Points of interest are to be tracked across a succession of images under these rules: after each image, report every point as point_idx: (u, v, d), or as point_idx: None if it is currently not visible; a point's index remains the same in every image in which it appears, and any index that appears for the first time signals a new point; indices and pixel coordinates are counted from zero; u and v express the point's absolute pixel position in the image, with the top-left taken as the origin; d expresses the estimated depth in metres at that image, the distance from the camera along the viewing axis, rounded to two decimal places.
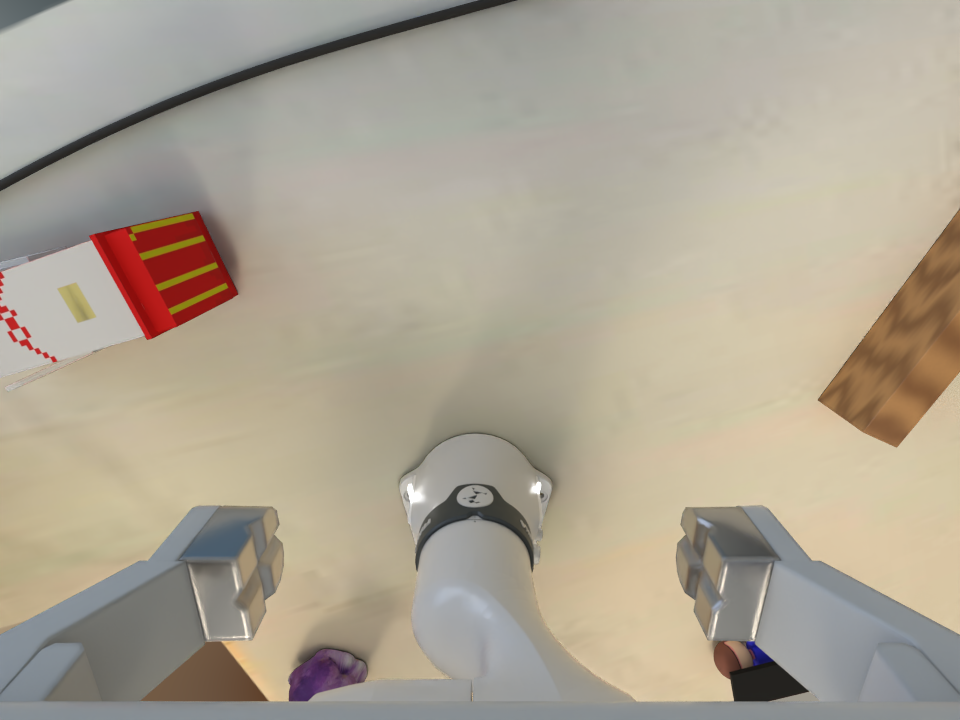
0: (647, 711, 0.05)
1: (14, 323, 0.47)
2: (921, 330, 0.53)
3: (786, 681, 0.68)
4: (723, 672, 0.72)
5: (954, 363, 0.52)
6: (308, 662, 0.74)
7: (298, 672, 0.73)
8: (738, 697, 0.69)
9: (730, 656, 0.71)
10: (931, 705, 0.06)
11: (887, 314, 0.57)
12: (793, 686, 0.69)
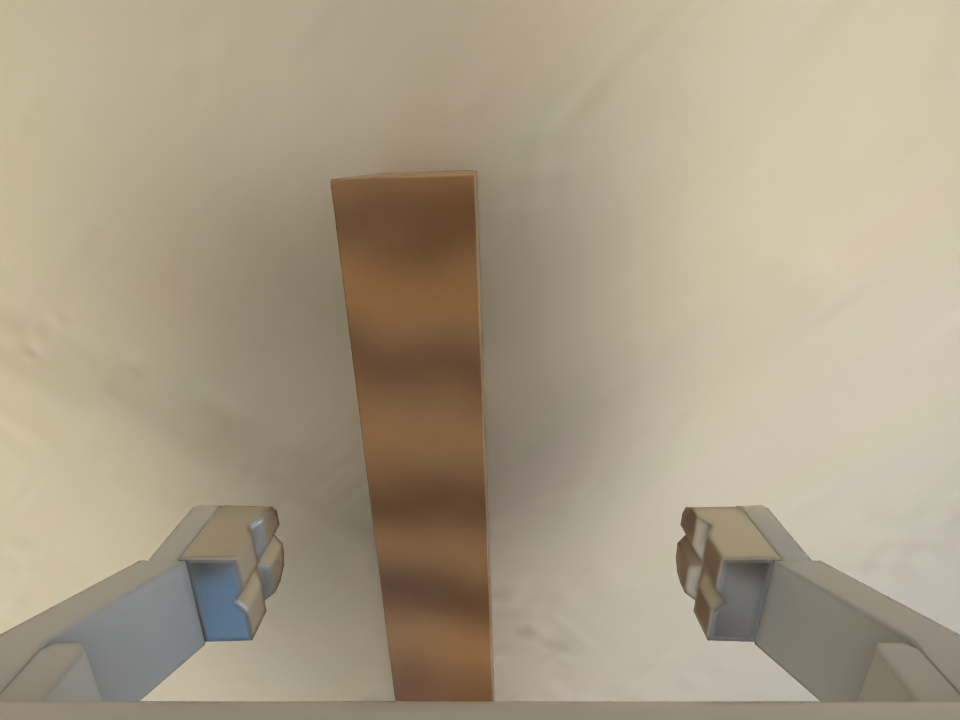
0: (647, 711, 0.05)
1: None
2: None
3: None
4: None
5: (394, 459, 0.20)
6: None
7: None
8: None
9: None
10: (931, 705, 0.06)
11: None
12: None
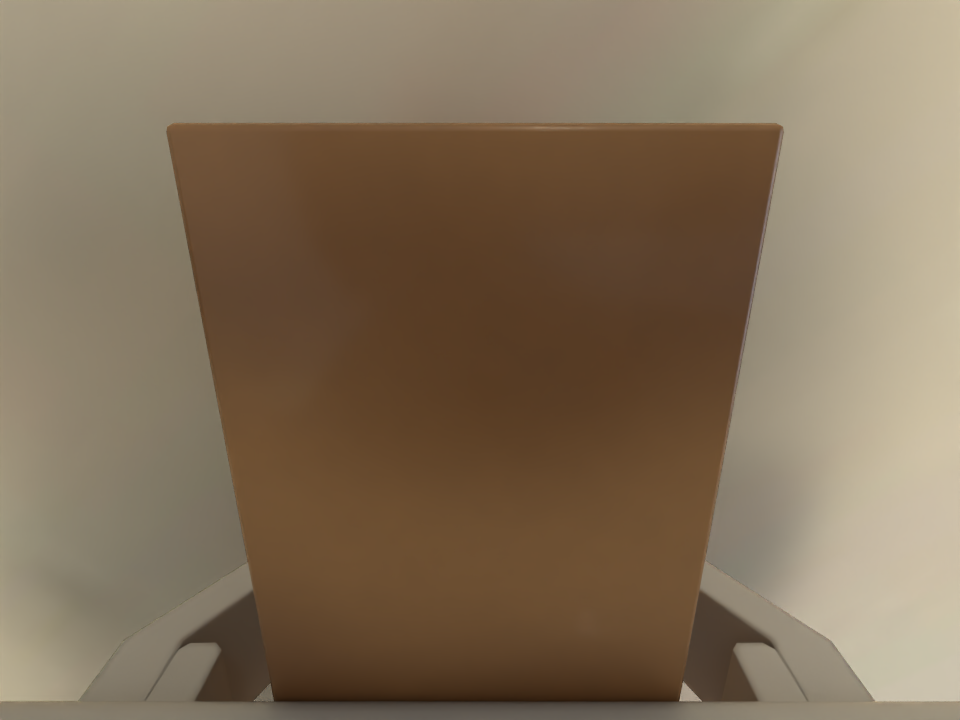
0: (647, 711, 0.05)
1: None
2: None
3: None
4: None
5: None
6: None
7: None
8: None
9: None
10: (931, 705, 0.06)
11: None
12: None
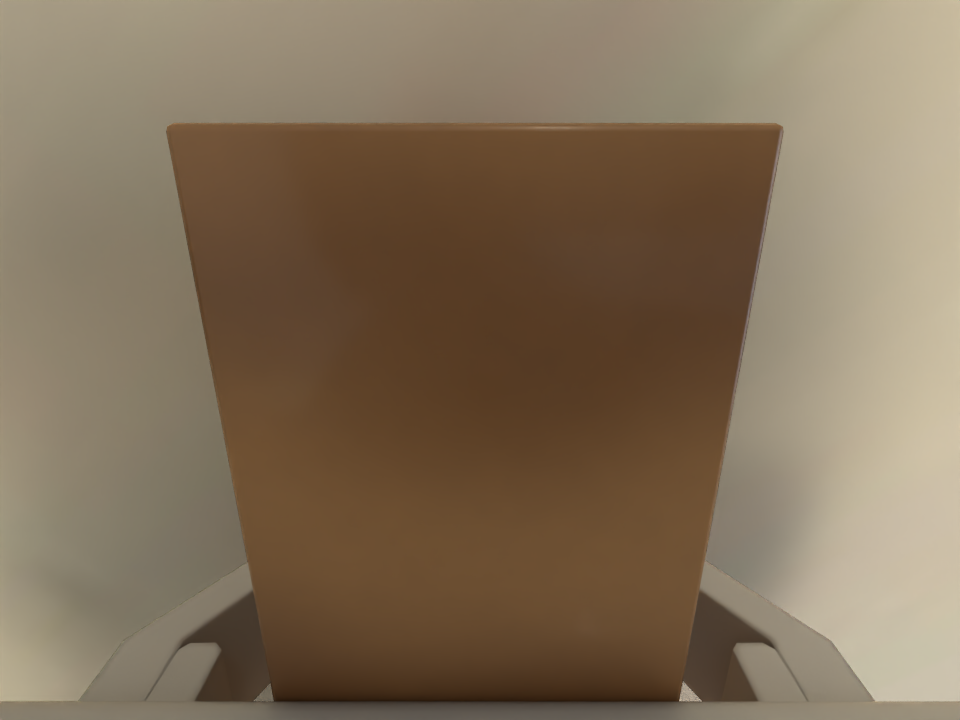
0: (647, 711, 0.05)
1: None
2: None
3: None
4: None
5: None
6: None
7: None
8: None
9: None
10: (931, 705, 0.06)
11: None
12: None
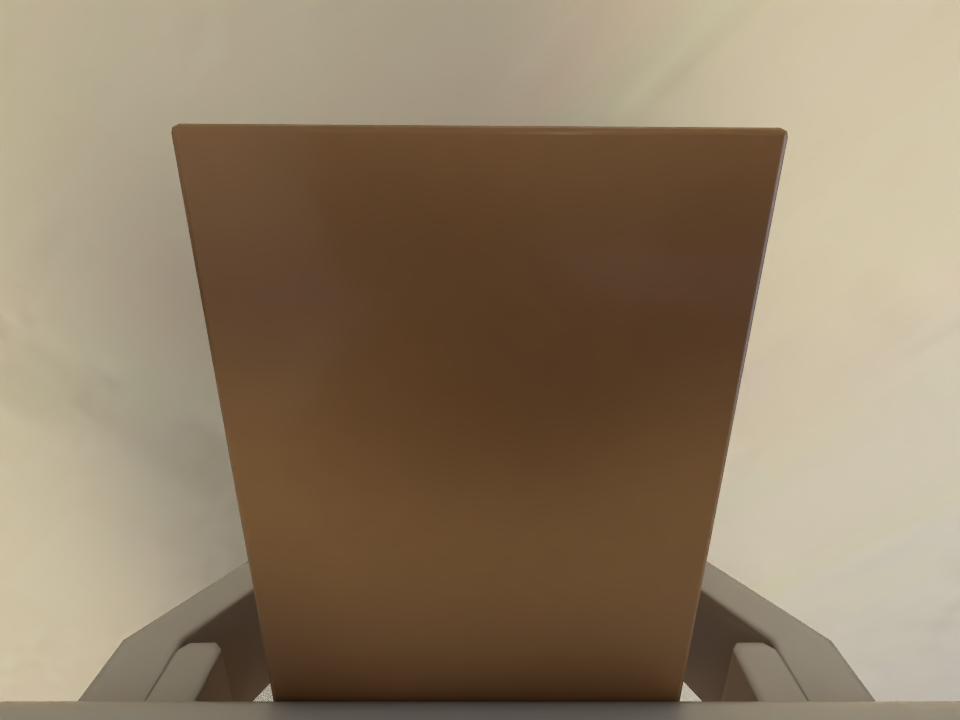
0: (647, 711, 0.05)
1: None
2: None
3: None
4: None
5: None
6: None
7: None
8: None
9: None
10: (931, 705, 0.06)
11: None
12: None
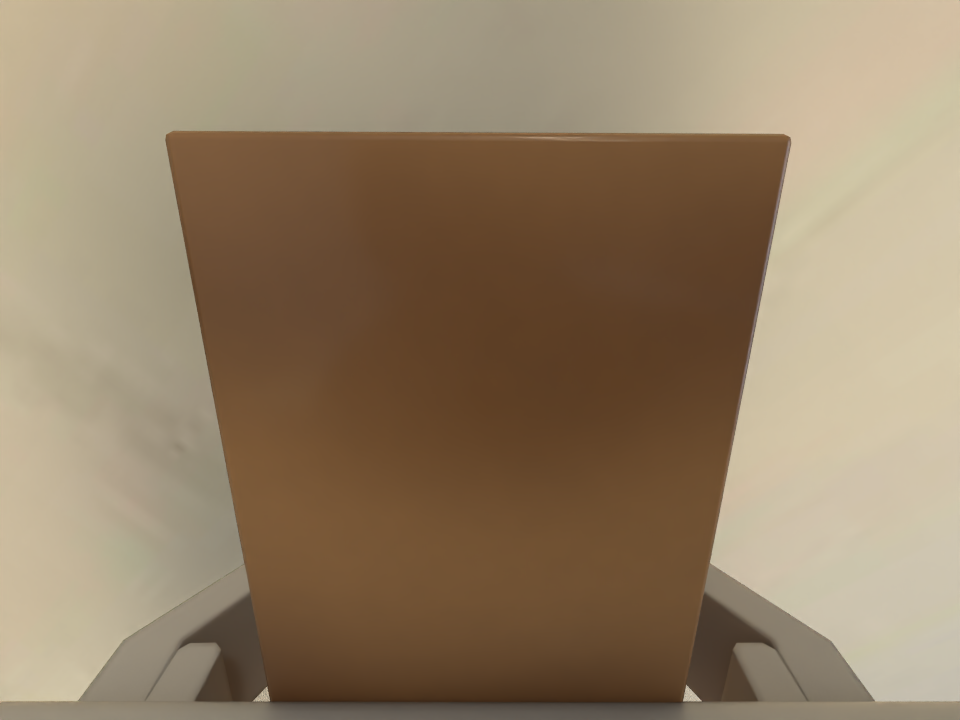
0: (647, 711, 0.05)
1: None
2: None
3: None
4: None
5: None
6: None
7: None
8: None
9: None
10: (931, 705, 0.06)
11: None
12: None
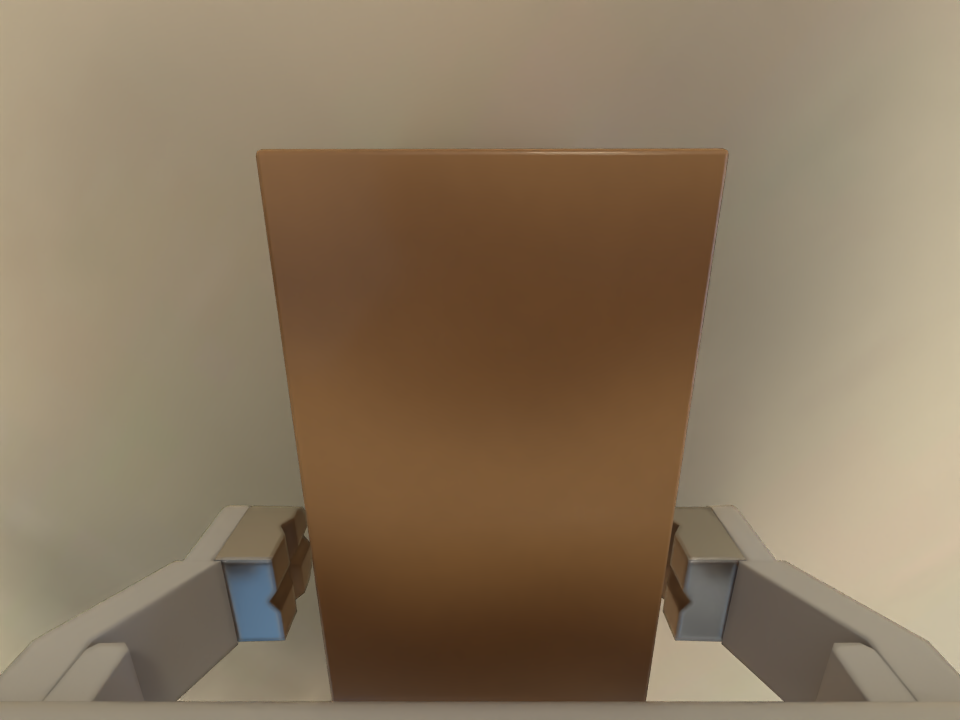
0: (647, 711, 0.05)
1: None
2: None
3: None
4: None
5: None
6: None
7: None
8: None
9: None
10: (931, 705, 0.06)
11: None
12: None
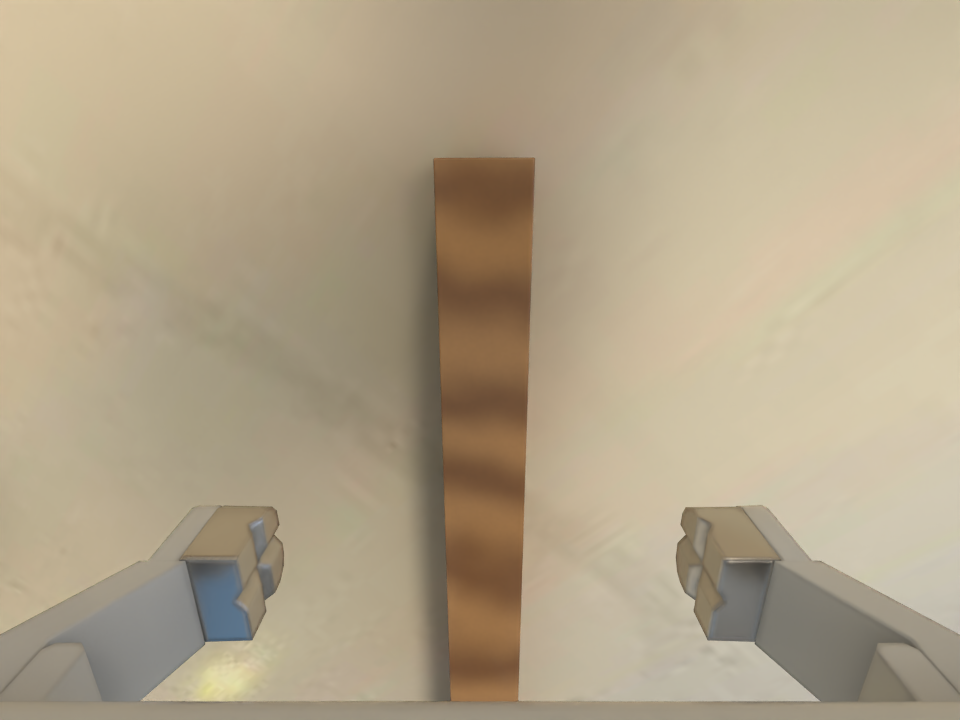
0: (647, 711, 0.05)
1: None
2: None
3: None
4: None
5: (461, 368, 0.27)
6: None
7: None
8: None
9: None
10: (931, 705, 0.06)
11: None
12: None
